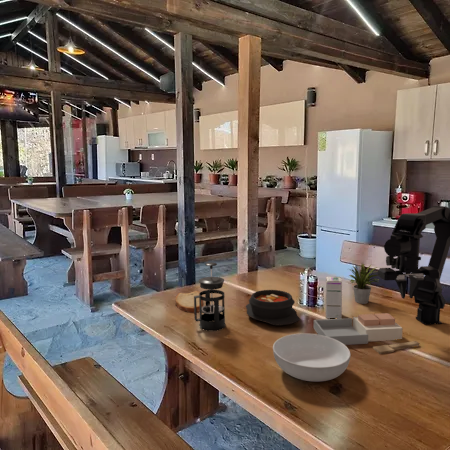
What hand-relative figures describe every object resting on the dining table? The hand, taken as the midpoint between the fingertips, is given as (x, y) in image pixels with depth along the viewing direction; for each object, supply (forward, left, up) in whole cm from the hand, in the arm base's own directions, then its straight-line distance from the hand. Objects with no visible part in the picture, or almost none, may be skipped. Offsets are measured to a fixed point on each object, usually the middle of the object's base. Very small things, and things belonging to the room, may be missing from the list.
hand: (406, 298), depth 138 cm
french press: (+65, -13, -12) cm, 67 cm away
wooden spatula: (+8, +11, -12) cm, 18 cm away
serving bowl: (+39, +22, -12) cm, 46 cm away
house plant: (+3, -30, -12) cm, 33 cm away
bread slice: (+72, -38, -13) cm, 82 cm away
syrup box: (+19, -17, -12) cm, 28 cm away
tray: (+22, 0, -12) cm, 26 cm away
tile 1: (+13, 0, -8) cm, 15 cm away
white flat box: (+10, 0, -12) cm, 16 cm away
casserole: (+42, -19, -12) cm, 48 cm away
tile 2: (+7, 0, -8) cm, 11 cm away
